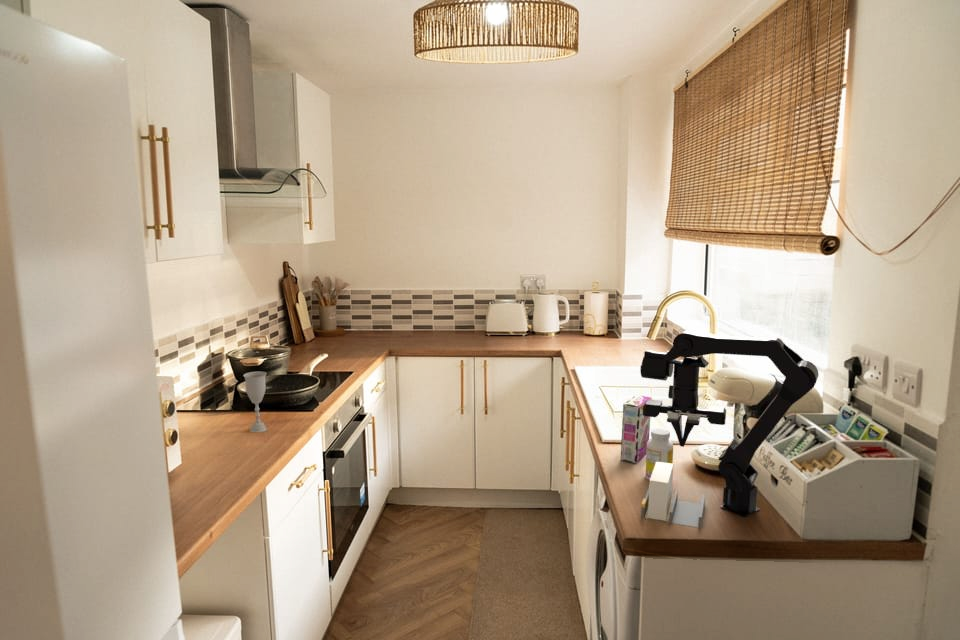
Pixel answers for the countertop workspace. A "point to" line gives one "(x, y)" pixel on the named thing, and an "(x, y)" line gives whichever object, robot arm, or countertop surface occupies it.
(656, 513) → the white rectangular box
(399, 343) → the countertop surface
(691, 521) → the slot rack
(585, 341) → the countertop surface
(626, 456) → the candy bar box
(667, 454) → the supplement bottle
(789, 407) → the robot arm
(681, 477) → the countertop surface
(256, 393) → the chalice
